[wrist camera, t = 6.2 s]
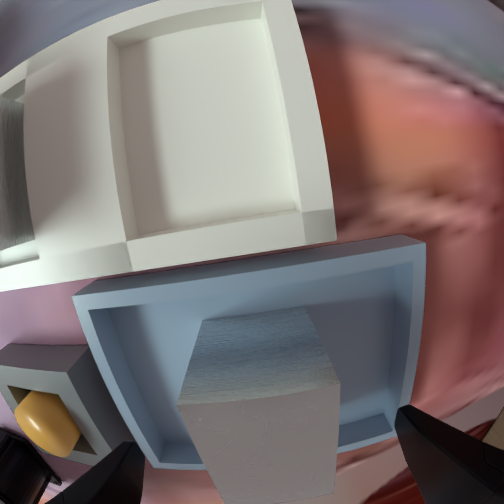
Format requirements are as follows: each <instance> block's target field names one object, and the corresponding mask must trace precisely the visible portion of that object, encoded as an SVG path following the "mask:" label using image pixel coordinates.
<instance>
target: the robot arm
mask: <svg viewBox="0 0 504 504" xmlns="http://www.w3.org/2000/svg"><path fill="white" fill-rule="evenodd" d="M394 427H395V430H396V433H397V436H398V439H399V442H400V445H401V448H402V451H403V454H404V457H405V460H406V462H407V464H408V467H409V469H410V471H411V473H412V475H413V477H414V479H415V481H416V483H417V485H418V487H419V489H420V492H421V494H422V496H423V498H424V500H425V502H426V504H504V450H502V449H500V448H497V447H495V446H492V445H490V444H488V443H486V442H483V441H481V440H479V439H477V438H475V437H473V436H471V435H469V434H466V433H464V432H462V431H460V430H458V429H456V428H454V427H452V426H450V425H448V424H446V423H444V422H442V421H440V420H438V419H436V418H434V417H433V416H431V415H429V414H427V413H425V412H423V411H421V410H419V409H417V408H415V407H413V406H412V405H409V404H408V405H404V406H402V407H399V408H398V409H397V413H396V418H395V422H394ZM144 466H145V456H144V454H143V452H142V451H141V449H140V447H139V446H138V444H137V443H136V442H135V441H127V440H126V441H123V442H122V443H121V444H120V445H118V446H117V447H116V448H115V449H114V450H113V451H111V452H110V453H109V454H108V455H107V456H105V457H104V458H103V459H102V460H101V461H99V462H98V463H97V464H96V465H95V466H93V467H92V468H91V469H90V470H88V471H87V472H86V473H85V474H83V475H82V476H81V477H80V478H78V479H77V480H76V481H75V482H73V483H72V484H71V485H70V486H68V487H67V488H66V489H64V490H63V491H62V492H60V493H59V494H58V495H56V496H55V497H54V498H52V499H51V500H49V501H48V502H46V503H45V504H140V502H141V497H142V490H143V478H144ZM49 482H51V483H53V484H56V485H59V486H61V484H62V482H61V480H60V479H59V478H58V477H57V476H56V475H55V474H54V473H53V472H52V470H51V469H50V468H49V467H48V466H47V465H46V464H45V462H44V461H43V460H42V459H41V458H40V456H39V455H38V454H37V453H36V451H35V450H34V449H33V447H32V446H31V445H30V444H29V442H28V441H27V440H25V439H24V438H22V437H19V436H16V435H13V434H11V433H8V432H6V431H3V430H1V429H0V504H38V503H39V501H40V499H41V497H42V495H43V493H44V491H45V489H46V487H47V486H48V484H49Z"/></svg>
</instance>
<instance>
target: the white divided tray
mask: <svg viewBox="0 0 504 504" xmlns="http://www.w3.org/2000/svg"><path fill="white" fill-rule="evenodd" d="M0 97H3V98H6V99H10V100H13V101H17V102H20V103H24V158H25V172H26V182H27V191H28V199H29V206H30V213H31V219H32V225H33V230H34V235H35V240H32V241H29V242H25V243H22V244H19V245H16V246H13V247H10V248H7V249H4V250H1V251H0V292H1V291H8V290H14V289H21V288H28V287H34V286H41V285H48V284H54V283H61V282H68V281H74V280H81V279H88V278H94V277H101V276H107V275H114V274H121V273H127V272H134V271H141V270H147V269H154V268H160V267H167V266H173V265H180V264H187V263H193V262H200V261H206V260H213V259H219V258H226V257H233V256H239V255H246V254H252V253H259V252H265V251H272V250H278V249H285V248H291V247H298V246H304V245H311V244H317V243H324V242H330V241H337V234H336V224H335V214H334V206H333V197H332V190H331V182H330V175H329V168H328V161H327V155H326V149H325V143H324V137H323V131H322V125H321V120H320V115H319V110H318V105H317V100H316V95H315V90H314V85H313V81H312V76H311V72H310V68H309V64H308V59H307V55H306V51H305V47H304V44H303V40H302V36H301V32H300V29H299V25H298V22H297V18H296V15H295V11H294V8H293V5H292V2H291V0H160V1H157V2H153V3H150V4H146V5H143V6H140V7H137V8H134V9H131V10H128V11H125V12H122V13H120V14H117V15H114V16H112V17H109V18H107V19H104V20H102V21H99V22H97V23H95V24H92V25H90V26H88V27H86V28H83V29H81V30H79V31H77V32H75V33H73V34H71V35H69V36H67V37H65V38H63V39H61V40H59V41H57V42H56V43H54V44H52V45H50V46H48V47H47V48H45V49H43V50H42V51H40V52H38V53H37V54H35V55H33V56H32V57H30V58H28V59H27V60H25V61H24V62H22V63H21V64H19V65H18V66H16V67H15V68H13V69H12V70H11V71H9V72H8V73H6V74H5V75H4V76H2V77H1V78H0Z"/></svg>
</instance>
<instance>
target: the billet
mask: <svg viewBox="0 0 504 504" xmlns="http://www.w3.org/2000/svg"><path fill="white" fill-rule="evenodd" d="M177 407H178V409H179V411H180V414H181V416H182V419H183V421H184V423H185V425H186V428H187V430H188V432H189V434H190V437H191V439H192V441H193V443H194V445H195V447H196V450H197V452H198V454H199V456H200V458H201V460H202V462H203V464H204V466H205V468H206V470H207V472H208V474H209V476H210V477H211V479H212V481H213V483H214V485H215V487H216V489H217V490H218V492H219V494H220V496H221V498H222V499H223V501H224V503H225V504H275V503H283V502H290V501H296V500H303V499H309V498H314V497H319V496H324V495H329V494H333V493H334V484H335V474H336V463H337V451H338V436H339V417H340V381H339V379H338V377H337V375H336V373H335V371H334V368H333V366H332V364H331V362H330V360H329V358H328V355H327V353H326V351H325V349H324V347H323V345H322V343H321V340H320V338H319V336H318V334H317V332H316V330H315V328H314V326H313V324H312V321H311V319H310V317H309V315H308V313H307V311H306V309H305V307H304V305H303V306H297V307H291V308H285V309H279V310H272V311H266V312H259V313H253V314H246V315H239V316H231V317H224V318H216V319H208V320H202V323H201V326H200V329H199V332H198V336H197V339H196V342H195V345H194V348H193V352H192V355H191V358H190V361H189V365H188V368H187V371H186V375H185V378H184V381H183V385H182V388H181V391H180V395H179V398H178V402H177Z"/></svg>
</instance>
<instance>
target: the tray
mask: <svg viewBox="0 0 504 504" xmlns="http://www.w3.org/2000/svg"><path fill="white" fill-rule="evenodd" d="M425 280H426V242H423V241H420V240H417V239H414V238H411V237H408V236H405V235H402V234H400V235H393V236H387V237H381V238H375V239H368V240H362V241H356V242H349V243H343V244H337V245H330V246H324V247H317V248H311V249H305V250H298V251H292V252H285V253H279V254H272V255H266V256H259V257H253V258H246V259H240V260H233V261H227V262H220V263H213V264H207V265H200V266H193V267H187V268H180V269H173V270H167V271H160V272H153V273H146V274H139V275H133V276H126V277H119V278H112V279H105V280H98V281H93V282H92V283H90V284H89V285H87V286H86V287H84V288H83V289H81V290H80V291H78V292H77V293H76V294H74V295H73V296H72V299H73V302H74V305H75V308H76V311H77V314H78V317H79V320H80V323H81V326H82V329H83V331H84V334H85V337H86V339H87V342H88V344H89V347H90V349H91V352H92V354H93V357H94V359H95V362H96V364H97V366H98V368H99V371H100V373H101V375H102V377H103V380H104V382H105V384H106V386H107V388H108V390H109V392H110V394H111V396H112V398H113V400H114V402H115V404H116V406H117V408H118V410H119V412H120V414H121V415H122V417H123V419H124V421H125V423H126V424H127V426H128V428H129V430H130V431H131V433H132V435H133V436H134V438H135V440H136V441H137V443H138V445H139V446H140V448H141V450H142V451H143V453H144V454H145V456H146V457H147V459H148V460H149V462H150V463H151V465H152V466H153V468H160V469H178V470H206V468H205V466H204V464H203V462H202V460H201V458H200V456H199V454H198V452H197V450H196V447H195V445H194V443H193V441H192V439H191V437H190V434H189V432H188V430H187V428H186V425H185V423H184V421H183V419H182V416H181V414H180V411H179V409H178V407H177V402H178V398H179V395H180V391H181V388H182V385H183V381H184V378H185V375H186V371H187V368H188V365H189V361H190V358H191V355H192V352H193V348H194V345H195V342H196V339H197V336H198V332H199V329H200V326H201V323H202V320H208V319H216V318H224V317H231V316H239V315H246V314H253V313H259V312H266V311H272V310H279V309H285V308H291V307H297V306H303V305H304V307H305V309H306V311H307V313H308V315H309V317H310V319H311V321H312V324H313V326H314V328H315V330H316V332H317V334H318V336H319V338H320V340H321V343H322V345H323V347H324V349H325V351H326V353H327V355H328V358H329V360H330V362H331V364H332V366H333V368H334V371H335V373H336V375H337V377H338V379H339V381H340V417H339V436H338V451H337V454H338V453H342V452H346V451H350V450H354V449H357V448H361V447H364V446H368V445H371V444H374V443H377V442H381V441H384V440H387V439H389V438H392V437H395V436H397V433H396V430H395V427H394V422H395V418H396V413H397V409H398V408H399V407H402V406H404V405H408V404H409V403H410V399H411V394H412V389H413V384H414V379H415V374H416V368H417V362H418V355H419V348H420V341H421V333H422V323H423V313H424V300H425Z"/></svg>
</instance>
